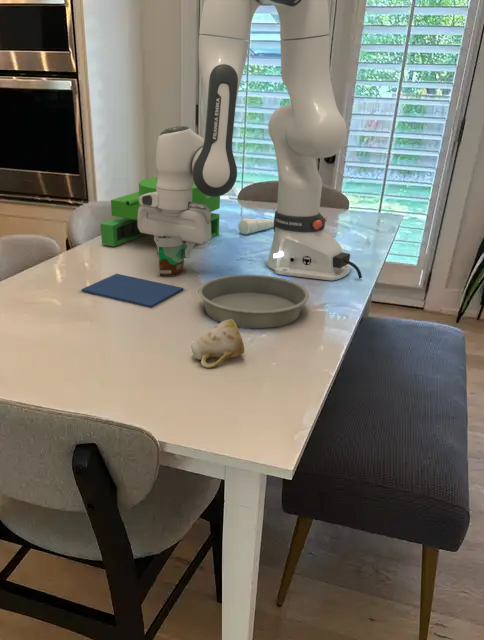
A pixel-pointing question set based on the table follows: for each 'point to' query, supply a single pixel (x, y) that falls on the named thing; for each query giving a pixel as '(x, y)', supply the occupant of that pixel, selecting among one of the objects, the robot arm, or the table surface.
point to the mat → (133, 290)
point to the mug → (219, 343)
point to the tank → (128, 214)
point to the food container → (171, 256)
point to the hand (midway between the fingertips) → (173, 255)
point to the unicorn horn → (254, 225)
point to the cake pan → (253, 300)
